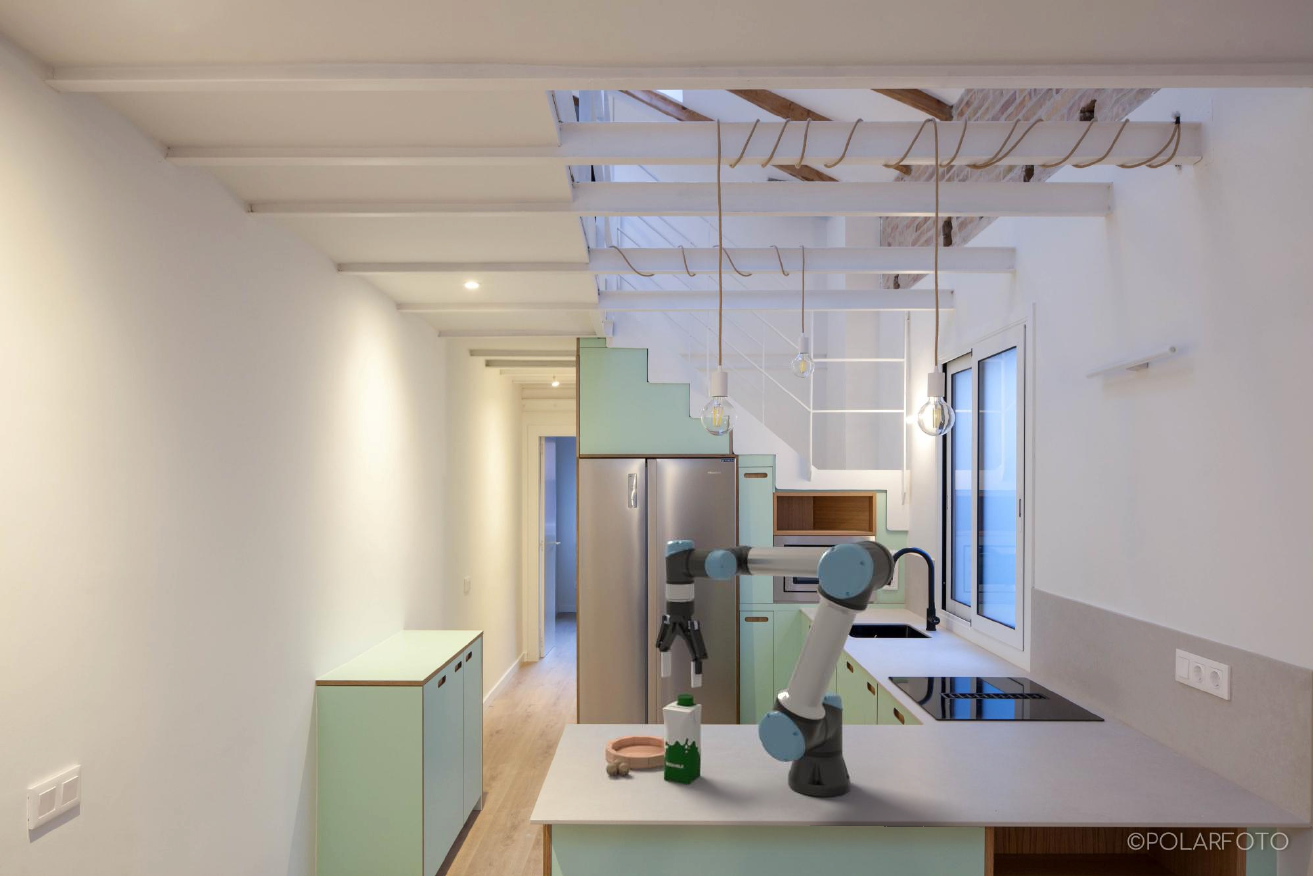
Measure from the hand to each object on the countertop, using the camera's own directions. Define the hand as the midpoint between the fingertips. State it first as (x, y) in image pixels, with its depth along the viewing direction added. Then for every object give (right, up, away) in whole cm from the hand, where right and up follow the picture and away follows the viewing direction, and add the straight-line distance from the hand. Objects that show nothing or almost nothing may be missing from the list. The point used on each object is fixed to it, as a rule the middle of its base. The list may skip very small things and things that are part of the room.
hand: (681, 681), depth 216 cm
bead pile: (-17, -23, -3) cm, 29 cm away
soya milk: (0, -23, -6) cm, 24 cm away
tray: (-11, -24, +10) cm, 28 cm away
